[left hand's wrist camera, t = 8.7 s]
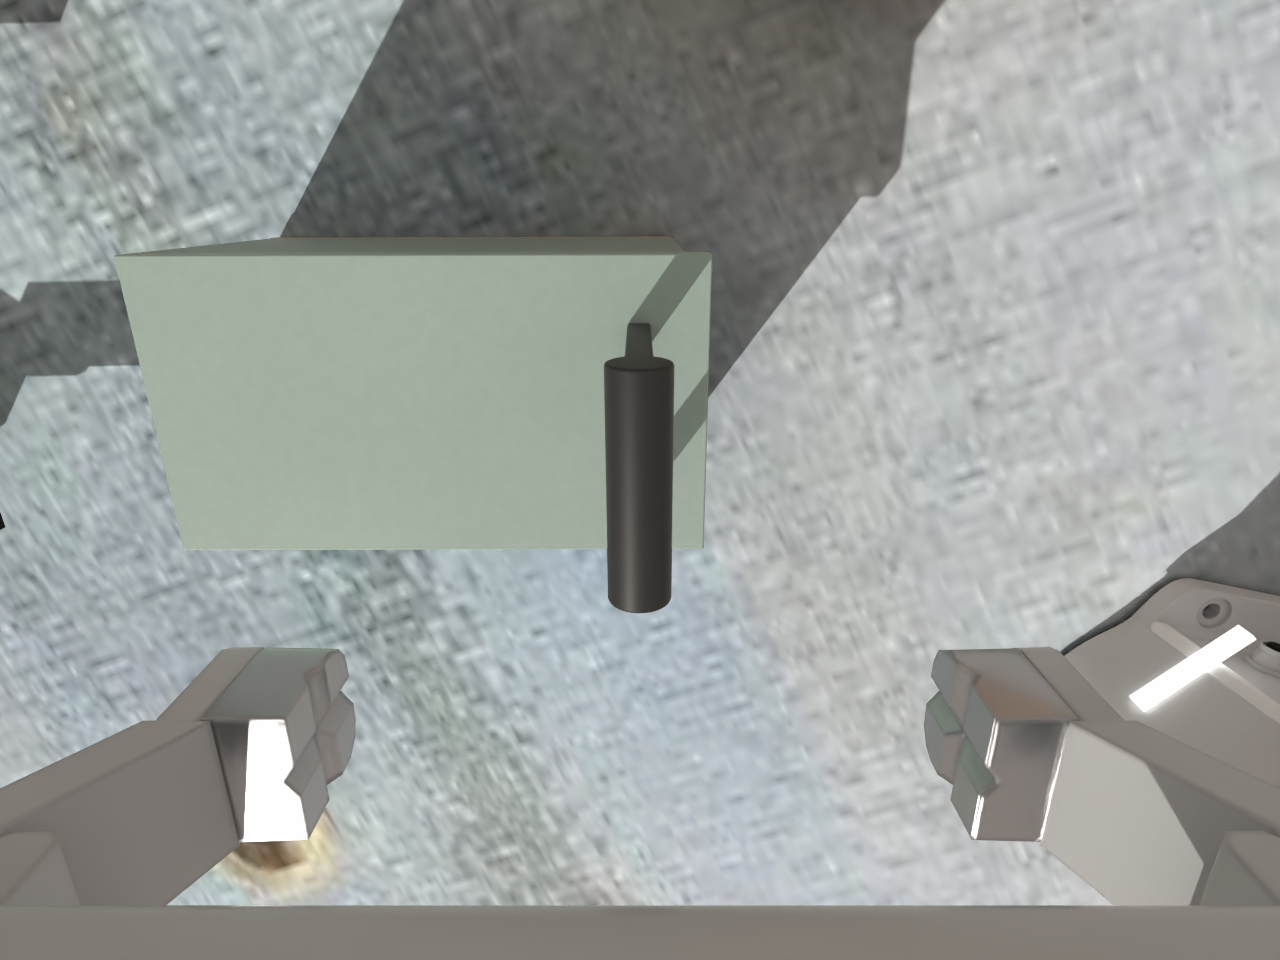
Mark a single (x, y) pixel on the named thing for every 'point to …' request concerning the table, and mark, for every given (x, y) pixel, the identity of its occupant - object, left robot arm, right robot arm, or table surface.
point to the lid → (432, 401)
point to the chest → (440, 245)
